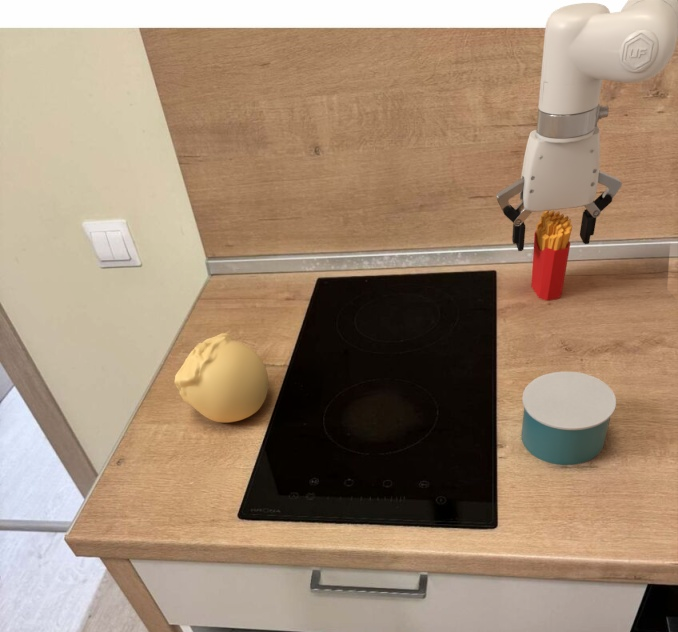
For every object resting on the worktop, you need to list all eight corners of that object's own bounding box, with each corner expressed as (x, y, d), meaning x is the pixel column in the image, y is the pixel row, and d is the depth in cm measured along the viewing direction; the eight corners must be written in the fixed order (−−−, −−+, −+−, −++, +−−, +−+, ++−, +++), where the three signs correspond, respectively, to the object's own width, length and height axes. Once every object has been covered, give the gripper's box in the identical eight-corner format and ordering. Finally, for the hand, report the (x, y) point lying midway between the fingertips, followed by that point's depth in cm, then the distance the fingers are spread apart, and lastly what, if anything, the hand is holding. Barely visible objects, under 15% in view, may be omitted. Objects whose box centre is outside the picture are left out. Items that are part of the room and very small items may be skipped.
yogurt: (593, 415, 79) (603, 367, 74) (614, 472, 72) (627, 424, 67) (512, 421, 80) (516, 375, 75) (525, 478, 73) (530, 431, 68)
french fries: (526, 280, 103) (532, 208, 95) (550, 275, 103) (558, 204, 95) (543, 306, 97) (551, 232, 89) (568, 301, 97) (578, 227, 89)
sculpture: (217, 378, 96) (196, 318, 89) (286, 387, 92) (270, 325, 85) (180, 426, 89) (153, 365, 82) (252, 438, 85) (231, 376, 78)
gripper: (626, 103, 84) (604, 226, 96) (496, 120, 86) (490, 238, 98) (642, 121, 79) (617, 249, 91) (503, 139, 81) (497, 261, 93)
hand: (551, 243), depth 95 cm, fingers open, 9 cm apart
